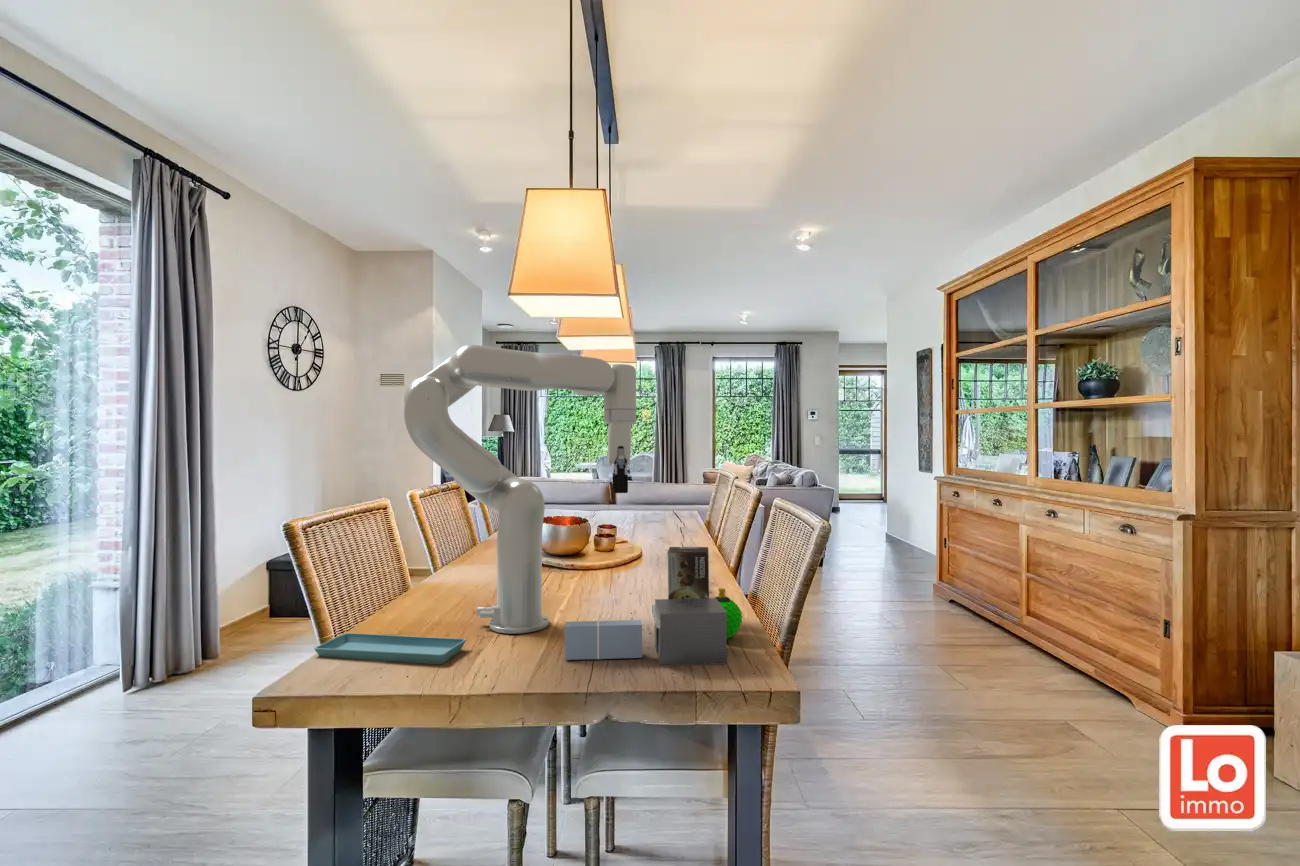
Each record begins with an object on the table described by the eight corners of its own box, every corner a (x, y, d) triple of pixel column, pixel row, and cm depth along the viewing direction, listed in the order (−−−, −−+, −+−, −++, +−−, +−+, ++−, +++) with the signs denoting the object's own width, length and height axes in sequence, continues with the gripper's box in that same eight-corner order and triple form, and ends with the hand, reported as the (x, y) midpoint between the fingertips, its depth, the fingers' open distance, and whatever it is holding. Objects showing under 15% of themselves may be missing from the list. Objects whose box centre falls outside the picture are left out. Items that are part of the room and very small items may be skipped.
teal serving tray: (312, 659, 113) (312, 645, 113) (345, 643, 122) (345, 630, 122) (442, 668, 108) (442, 654, 109) (467, 651, 117) (467, 638, 118)
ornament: (699, 632, 128) (699, 584, 128) (737, 631, 128) (737, 584, 128) (705, 645, 120) (705, 594, 120) (746, 644, 120) (746, 593, 120)
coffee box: (709, 618, 138) (709, 546, 138) (709, 626, 132) (709, 551, 132) (669, 616, 139) (669, 545, 139) (667, 625, 133) (667, 550, 133)
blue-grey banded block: (564, 660, 111) (565, 626, 111) (565, 654, 114) (565, 621, 114) (641, 658, 112) (642, 624, 112) (640, 652, 115) (640, 619, 115)
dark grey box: (656, 665, 109) (656, 614, 109) (651, 647, 119) (652, 599, 119) (726, 663, 110) (726, 612, 110) (716, 645, 120) (716, 598, 120)
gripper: (603, 419, 151) (603, 488, 151) (604, 416, 134) (604, 494, 134) (634, 419, 152) (633, 488, 151) (638, 416, 134) (638, 494, 134)
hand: (620, 491), depth 142 cm, fingers open, 9 cm apart
